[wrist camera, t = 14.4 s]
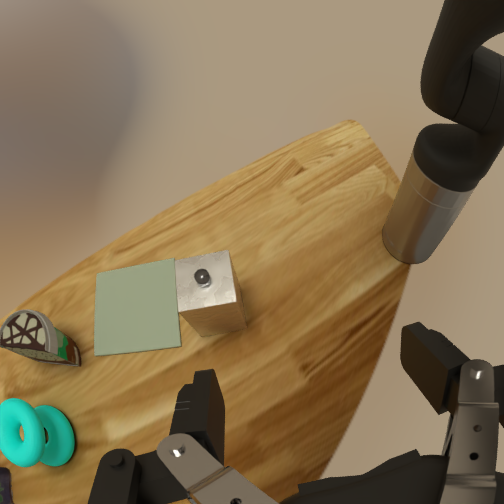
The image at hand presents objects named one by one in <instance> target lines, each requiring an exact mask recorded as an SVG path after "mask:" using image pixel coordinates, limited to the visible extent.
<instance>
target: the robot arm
mask: <svg viewBox="0 0 504 504" xmlns="http://www.w3.org/2000/svg"><path fill="white" fill-rule="evenodd" d="M503 32H504V0H445V1H444V4H443V7H442V10H441V13H440V16H439V20H438V23H437V25H436V28H435V31H434V34H433V37H432V39H431V42H430V45H429V48H428V51H427V54H426V57H425V61H424V64H423V68H422V75H421V94H422V98H423V101H424V103H425V104H426V106H427V107H428V108H429V109H431V110H432V111H433V112H435V113H437V114H438V115H440V116H442V117H444V118H447V119H449V120H451V121H454V122H456V123H458V124H432V125H429V126H426V127H425V128H423V129H422V130H421V132H420V133H419V135H418V137H417V139H416V142H415V145H414V148H413V151H412V154H411V157H410V160H409V163H408V165H407V168H406V171H405V174H404V177H403V179H402V182H401V185H400V187H399V190H398V192H397V195H396V198H395V200H394V203H393V205H392V208H391V210H390V212H389V215H388V217H387V220H386V222H385V225H384V227H383V231H382V237H383V242H384V245H385V246H386V248H387V250H388V251H389V252H390V253H391V255H393V256H394V257H395V258H396V259H398V260H400V261H402V262H405V263H408V264H419V263H422V262H424V261H426V260H427V259H428V258H429V257H430V256H431V254H432V253H433V252H434V250H435V249H436V247H437V246H438V244H439V243H440V242H441V240H442V239H443V237H444V236H445V234H446V233H447V232H448V230H449V228H450V227H451V225H452V224H453V223H454V221H455V219H456V218H457V217H458V215H459V213H460V212H461V210H462V209H463V207H464V205H465V204H466V202H467V201H468V199H469V197H470V196H471V194H472V192H473V190H474V189H475V187H476V186H477V184H478V183H479V181H480V180H481V179H482V178H483V177H484V176H485V175H486V174H487V172H488V171H489V169H490V167H491V166H492V164H493V162H494V161H495V159H496V157H497V156H498V154H499V152H500V151H501V149H502V148H503V146H504V56H502V55H500V54H498V53H496V52H494V51H492V50H490V49H487V48H486V47H483V46H481V45H482V44H483V43H484V42H486V41H487V40H489V39H490V38H492V37H494V36H495V35H497V34H500V33H503ZM400 359H401V364H402V366H403V368H404V370H405V371H406V373H407V374H408V375H409V376H410V378H411V379H412V380H413V382H414V383H415V384H416V386H417V387H418V388H419V390H420V391H421V392H422V393H423V395H424V396H425V397H426V399H427V400H428V401H429V402H430V404H431V405H432V407H433V408H434V409H435V411H436V412H437V413H438V415H440V414H442V413H444V412H447V411H449V412H450V417H449V422H448V427H447V432H446V438H445V442H444V446H443V451H442V455H423V456H420V455H419V453H418V451H417V450H416V449H415V450H412V451H410V452H407V453H405V454H403V455H400V456H397V457H394V458H391V459H389V460H387V461H386V462H384V463H382V464H381V465H379V466H377V467H376V468H374V469H372V470H370V471H369V472H367V473H365V474H363V475H357V476H345V477H330V478H325V479H321V480H316V481H312V482H307V483H302V484H298V488H299V492H298V493H296V494H294V495H292V496H290V497H288V498H286V499H284V500H283V501H281V502H280V503H277V502H276V501H274V500H273V499H272V498H270V497H269V496H268V495H266V494H265V493H264V492H262V491H261V490H260V489H258V488H257V487H256V486H255V485H253V484H252V483H251V482H250V481H248V480H247V479H246V478H245V477H243V476H242V475H241V474H240V473H238V472H237V471H236V470H235V469H234V468H232V467H230V466H227V467H226V468H225V467H224V435H225V405H224V399H223V396H222V393H221V390H220V386H219V383H218V380H217V377H216V374H215V371H214V369H209V370H202V371H195V374H194V380H193V384H185V385H184V386H183V388H182V389H181V390H180V391H179V393H178V396H177V401H176V402H177V403H176V405H175V411H174V415H173V419H172V424H171V429H170V433H169V436H168V437H166V438H164V439H163V440H162V441H161V442H160V443H159V445H158V447H157V450H155V451H153V452H150V453H146V454H142V455H138V456H134V454H133V453H132V452H131V451H129V450H127V449H114V450H111V451H109V452H108V453H106V454H105V455H104V456H103V457H102V458H101V460H100V463H99V466H98V469H97V473H96V476H95V479H94V483H93V486H92V490H91V493H90V497H89V501H88V504H168V503H172V502H175V501H179V500H183V499H186V498H187V500H188V501H189V502H190V503H191V504H504V473H500V472H496V471H495V469H496V460H497V448H498V429H499V422H500V423H501V425H502V426H503V428H504V365H499V366H494V367H492V365H491V364H490V363H488V362H487V361H484V360H480V359H474V360H470V359H469V358H468V357H467V356H466V355H465V354H464V353H463V352H461V351H460V350H459V349H458V348H457V347H456V346H455V345H453V343H452V342H450V341H449V340H448V339H447V338H446V337H445V336H444V335H442V334H441V333H440V332H437V331H434V330H432V329H430V330H428V329H427V328H426V327H425V326H424V325H423V324H421V323H420V322H416V323H413V324H410V325H407V326H404V327H403V328H402V333H401V354H400Z"/></svg>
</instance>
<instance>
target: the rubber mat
mask: <svg viewBox="0 0 504 504" xmlns="http://www.w3.org/2000/svg"><path fill="white" fill-rule="evenodd" d="M175 347H182V346H181V335H180V324H179V313H178V302H177V288H176V274H175V258H171V259H166V260H161V261H156V262H151V263H146V264H141V265H136V266H131V267H126V268H121V269H117V270H112V271H107V272H102V273H97V279H96V296H95V328H94V353H95V356H105V355H115V354H125V353H134V352H143V351H152V350H160V349H167V348H175Z"/></svg>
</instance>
